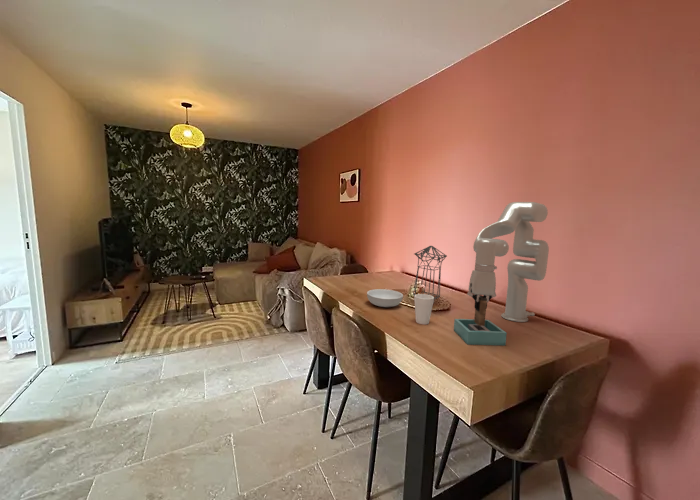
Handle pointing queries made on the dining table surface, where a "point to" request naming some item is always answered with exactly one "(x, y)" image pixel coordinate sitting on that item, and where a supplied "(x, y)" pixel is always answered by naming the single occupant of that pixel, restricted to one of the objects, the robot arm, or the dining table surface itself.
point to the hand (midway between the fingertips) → (480, 309)
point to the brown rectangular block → (481, 312)
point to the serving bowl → (384, 297)
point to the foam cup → (423, 308)
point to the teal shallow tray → (479, 332)
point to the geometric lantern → (429, 267)
